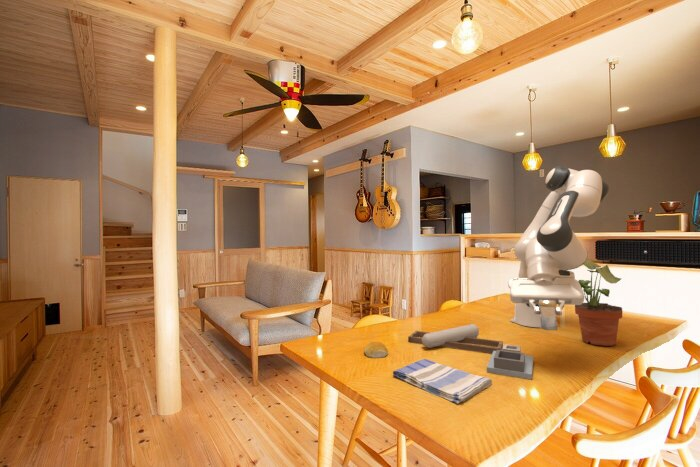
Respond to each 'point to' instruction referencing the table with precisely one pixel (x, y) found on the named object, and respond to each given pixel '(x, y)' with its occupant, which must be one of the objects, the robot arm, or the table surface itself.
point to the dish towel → (442, 380)
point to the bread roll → (376, 350)
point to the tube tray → (485, 349)
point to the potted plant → (598, 310)
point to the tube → (449, 335)
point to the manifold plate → (511, 362)
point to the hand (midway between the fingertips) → (548, 313)
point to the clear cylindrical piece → (547, 314)
